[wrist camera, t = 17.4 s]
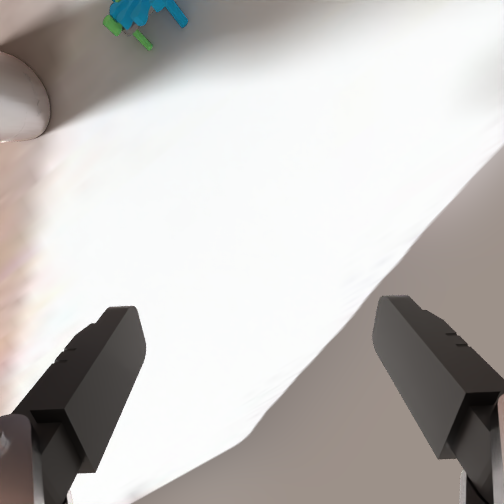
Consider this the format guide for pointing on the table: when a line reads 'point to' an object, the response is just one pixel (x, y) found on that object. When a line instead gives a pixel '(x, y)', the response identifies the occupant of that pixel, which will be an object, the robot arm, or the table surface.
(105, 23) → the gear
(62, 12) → the table surface
